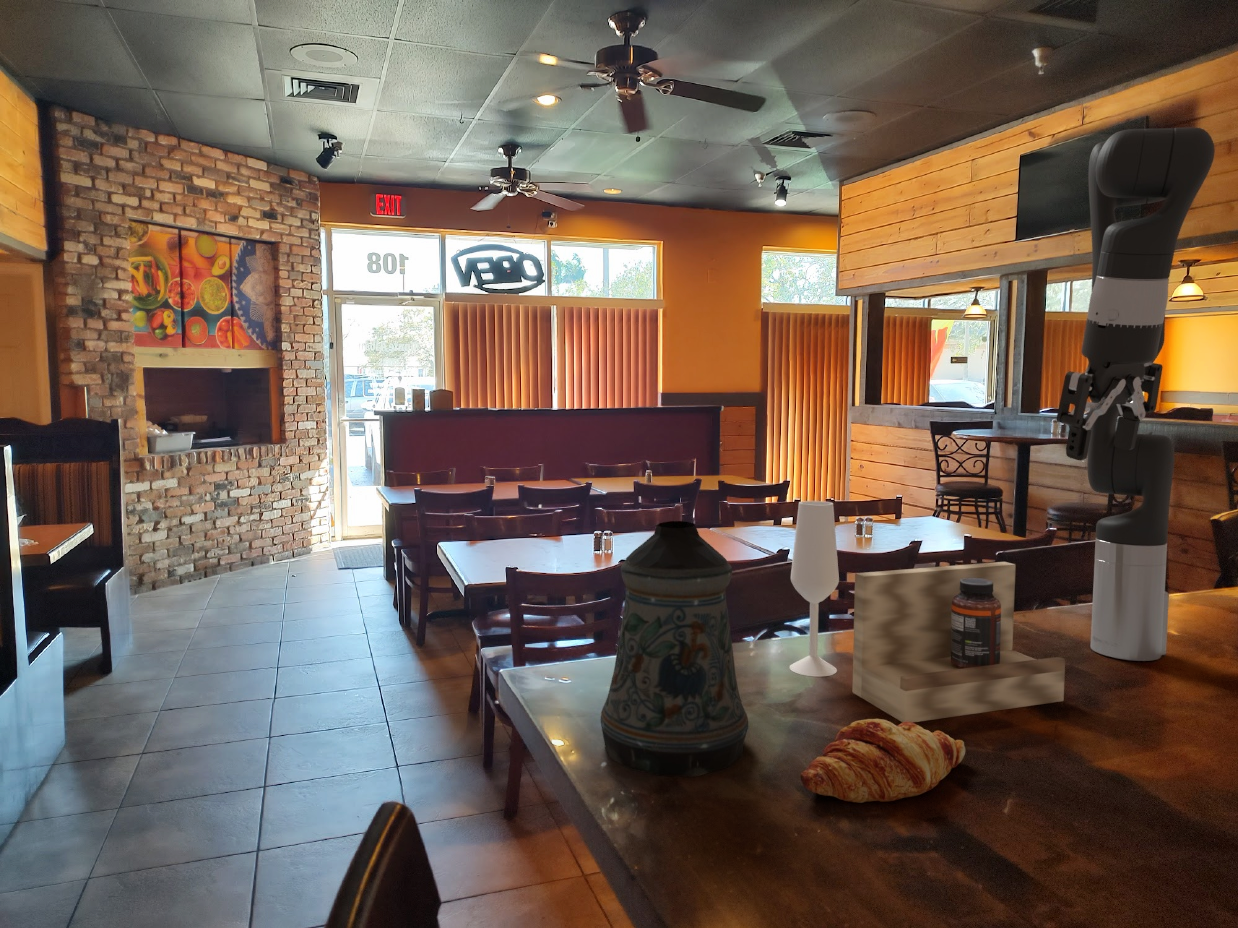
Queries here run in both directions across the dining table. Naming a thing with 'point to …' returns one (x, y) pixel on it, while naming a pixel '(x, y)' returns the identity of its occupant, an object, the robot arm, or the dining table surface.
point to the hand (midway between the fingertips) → (1099, 453)
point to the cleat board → (939, 647)
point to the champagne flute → (814, 573)
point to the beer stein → (675, 661)
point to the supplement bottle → (975, 625)
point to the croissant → (882, 762)
